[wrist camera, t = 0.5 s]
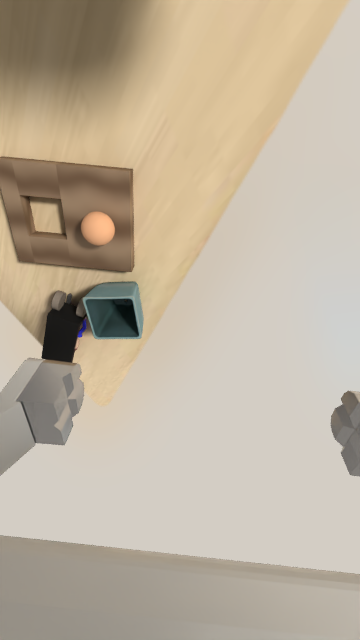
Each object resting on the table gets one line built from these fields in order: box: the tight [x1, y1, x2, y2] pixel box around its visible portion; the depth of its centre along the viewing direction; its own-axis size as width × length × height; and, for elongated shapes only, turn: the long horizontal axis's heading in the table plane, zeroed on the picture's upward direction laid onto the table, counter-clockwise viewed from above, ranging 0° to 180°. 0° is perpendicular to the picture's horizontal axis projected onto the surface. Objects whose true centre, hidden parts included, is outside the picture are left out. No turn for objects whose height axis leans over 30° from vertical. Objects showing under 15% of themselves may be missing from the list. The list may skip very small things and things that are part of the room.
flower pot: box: [82, 282, 143, 339], centre depth 53 cm, size 9×9×9 cm
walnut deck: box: [0, 157, 134, 272], centre depth 48 cm, size 16×20×2 cm
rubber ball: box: [81, 212, 115, 246], centre depth 45 cm, size 5×5×5 cm
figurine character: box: [42, 291, 87, 363], centre depth 58 cm, size 7×8×15 cm
